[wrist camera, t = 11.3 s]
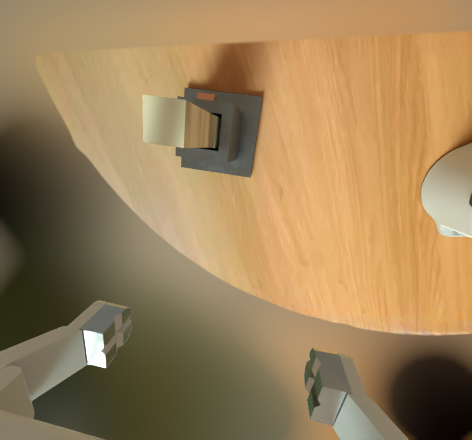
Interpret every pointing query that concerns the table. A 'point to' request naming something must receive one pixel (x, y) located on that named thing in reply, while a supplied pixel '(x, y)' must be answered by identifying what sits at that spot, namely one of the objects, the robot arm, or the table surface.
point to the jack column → (179, 123)
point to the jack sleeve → (225, 132)
